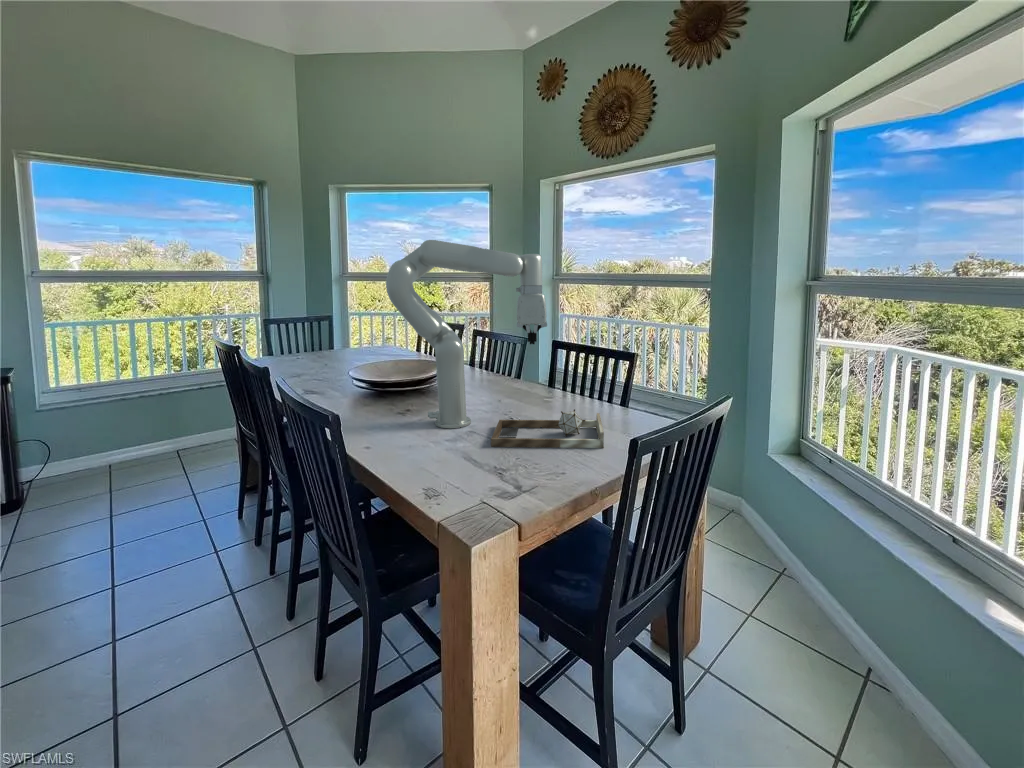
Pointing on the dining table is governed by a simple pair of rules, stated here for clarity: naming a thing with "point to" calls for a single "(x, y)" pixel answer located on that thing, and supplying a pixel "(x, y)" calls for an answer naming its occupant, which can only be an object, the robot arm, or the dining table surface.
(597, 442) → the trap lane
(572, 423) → the game die
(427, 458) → the dining table surface
